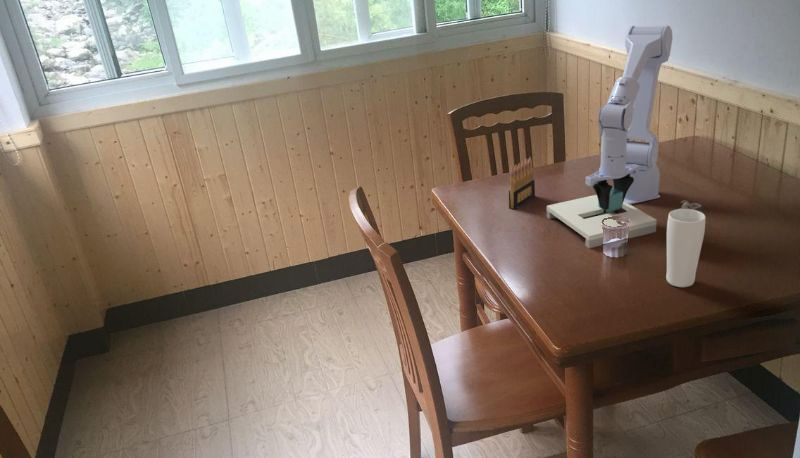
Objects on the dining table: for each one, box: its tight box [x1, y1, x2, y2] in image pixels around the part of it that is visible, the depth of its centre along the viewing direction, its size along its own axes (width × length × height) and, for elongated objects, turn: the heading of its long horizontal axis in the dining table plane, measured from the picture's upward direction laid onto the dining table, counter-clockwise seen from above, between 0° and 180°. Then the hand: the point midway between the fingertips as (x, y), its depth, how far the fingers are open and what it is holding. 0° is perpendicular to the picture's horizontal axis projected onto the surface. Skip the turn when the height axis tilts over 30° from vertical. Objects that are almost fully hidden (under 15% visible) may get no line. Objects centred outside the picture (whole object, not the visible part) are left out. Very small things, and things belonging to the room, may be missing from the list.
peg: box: [598, 186, 623, 215], centre depth 153 cm, size 4×4×8 cm
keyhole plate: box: [546, 194, 658, 249], centre depth 153 cm, size 18×20×3 cm
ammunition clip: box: [508, 156, 536, 210], centre depth 168 cm, size 11×2×12 cm, turn 138°
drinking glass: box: [665, 208, 707, 288], centre depth 123 cm, size 7×7×15 cm
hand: (611, 206), depth 153 cm, fingers closed on peg, 4 cm apart
